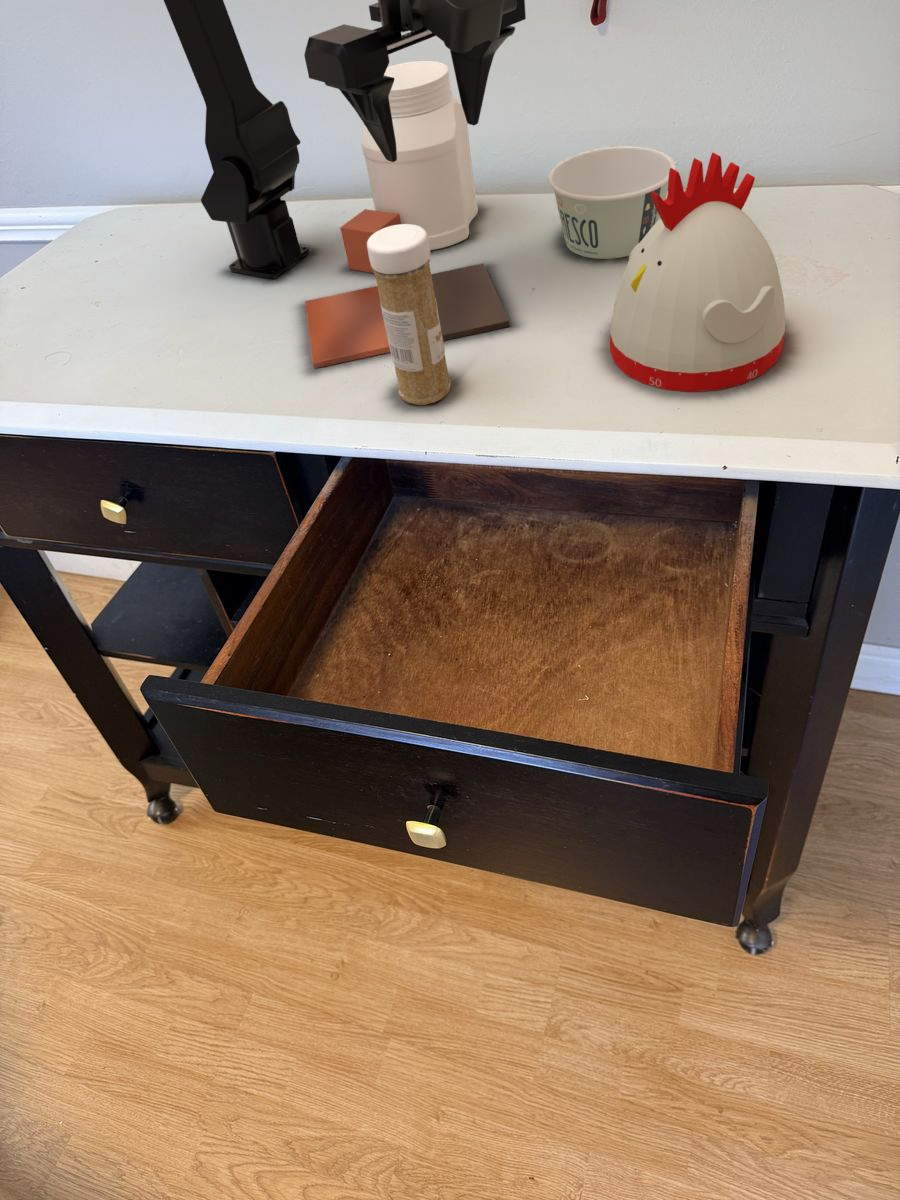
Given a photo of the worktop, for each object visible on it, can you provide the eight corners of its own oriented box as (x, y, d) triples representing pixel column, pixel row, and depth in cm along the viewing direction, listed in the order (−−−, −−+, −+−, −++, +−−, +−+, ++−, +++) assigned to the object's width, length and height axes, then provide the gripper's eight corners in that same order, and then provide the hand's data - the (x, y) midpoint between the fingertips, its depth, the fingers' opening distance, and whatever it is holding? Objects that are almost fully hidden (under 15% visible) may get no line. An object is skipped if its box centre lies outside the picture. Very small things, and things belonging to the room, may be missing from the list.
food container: (696, 223, 90) (700, 155, 85) (628, 276, 85) (628, 206, 80) (596, 203, 96) (595, 138, 92) (527, 250, 91) (522, 184, 86)
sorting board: (314, 368, 81) (312, 362, 80) (306, 306, 89) (304, 300, 89) (510, 326, 81) (509, 320, 81) (484, 268, 90) (483, 262, 89)
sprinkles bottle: (462, 391, 75) (438, 233, 65) (416, 414, 74) (385, 255, 64) (432, 370, 78) (406, 215, 68) (388, 391, 77) (354, 237, 67)
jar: (399, 206, 103) (373, 60, 92) (482, 201, 101) (465, 51, 90) (375, 254, 95) (343, 100, 85) (463, 250, 93) (442, 91, 82)
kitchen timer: (582, 332, 79) (576, 153, 68) (721, 286, 81) (736, 106, 70) (663, 411, 69) (671, 217, 59) (818, 357, 71) (853, 161, 61)
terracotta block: (349, 269, 94) (339, 227, 91) (373, 250, 96) (364, 208, 93) (383, 275, 92) (374, 232, 89) (407, 255, 94) (399, 213, 91)
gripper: (369, -37, 59) (407, 204, 70) (571, -106, 66) (576, 123, 77) (277, -49, 65) (326, 172, 76) (470, -111, 72) (488, 100, 83)
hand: (433, 142), depth 78 cm, fingers open, 9 cm apart
